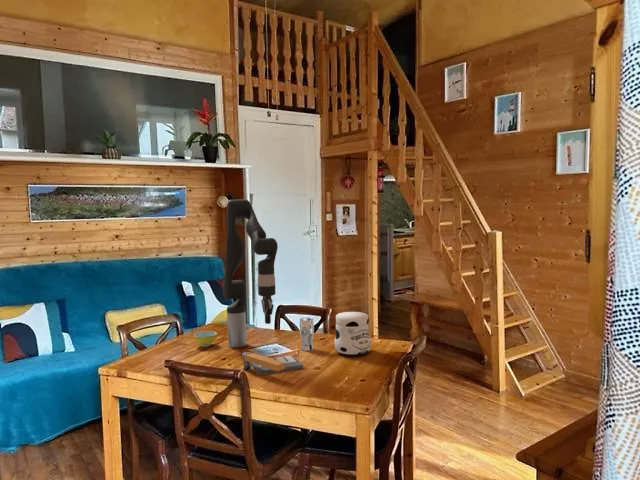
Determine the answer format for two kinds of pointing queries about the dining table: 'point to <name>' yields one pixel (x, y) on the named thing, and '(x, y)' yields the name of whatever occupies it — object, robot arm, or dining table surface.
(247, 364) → the post
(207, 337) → the bowl
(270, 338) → the dining table surface
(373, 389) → the dining table surface
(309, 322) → the beer glass
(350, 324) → the milk container
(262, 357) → the swing bar
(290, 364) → the label board
